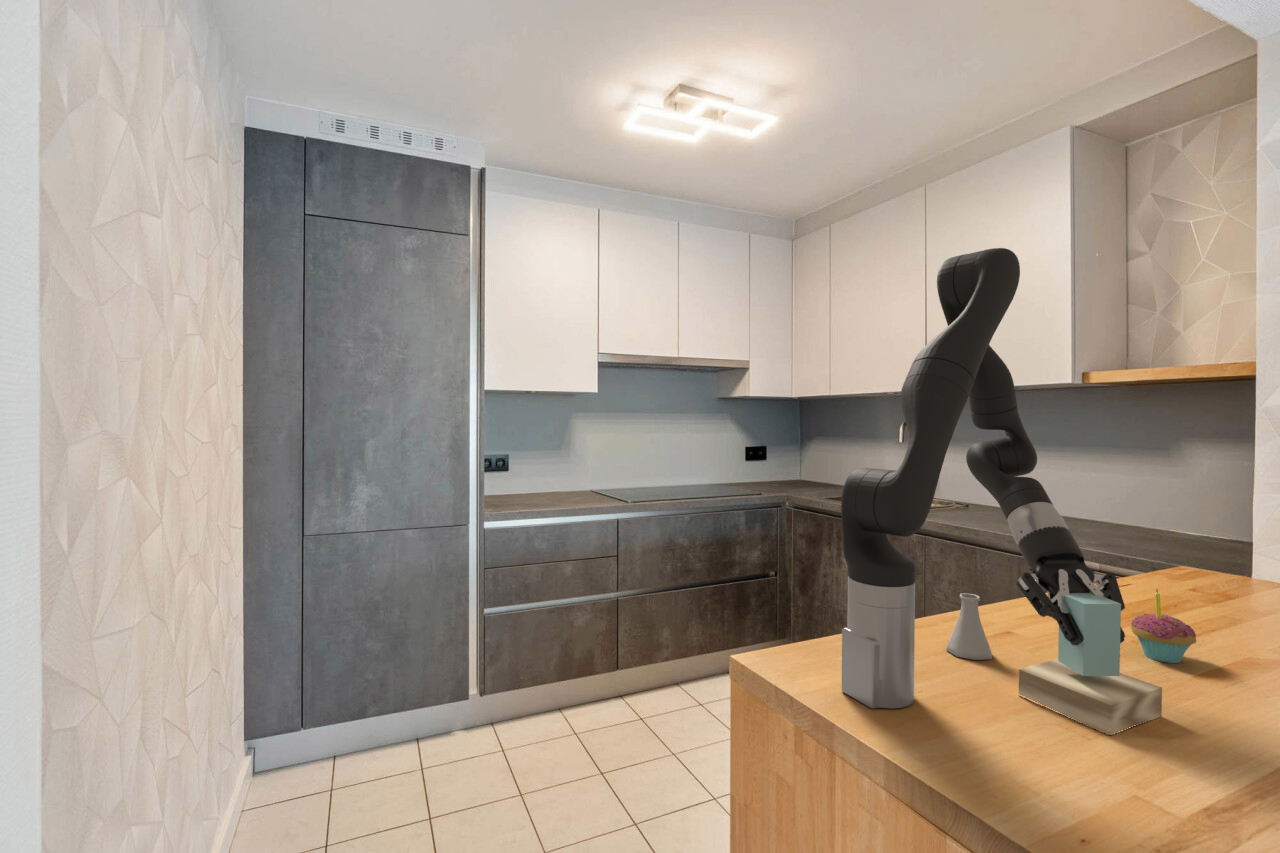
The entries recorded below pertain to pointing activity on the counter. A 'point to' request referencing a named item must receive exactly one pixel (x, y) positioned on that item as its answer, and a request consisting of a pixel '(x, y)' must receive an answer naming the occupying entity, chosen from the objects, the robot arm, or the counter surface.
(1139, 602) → the counter surface
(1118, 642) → the teal block
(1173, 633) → the cupcake
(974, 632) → the flask
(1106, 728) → the birch plinth
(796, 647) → the counter surface
